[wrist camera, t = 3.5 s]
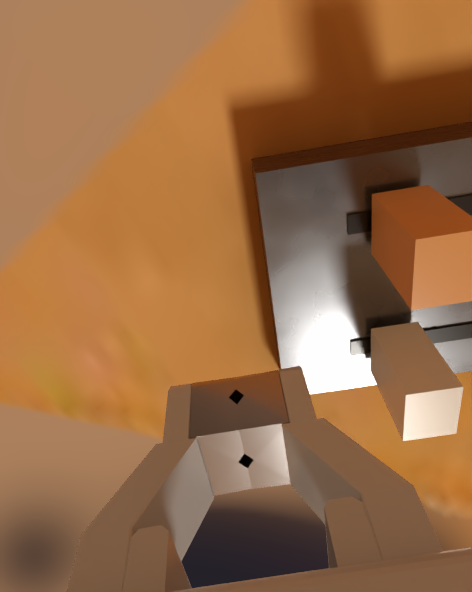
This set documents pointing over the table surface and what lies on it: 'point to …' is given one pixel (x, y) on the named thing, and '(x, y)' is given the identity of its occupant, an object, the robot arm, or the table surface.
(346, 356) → the console
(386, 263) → the fader orange
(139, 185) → the table surface
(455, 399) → the fader ivory
